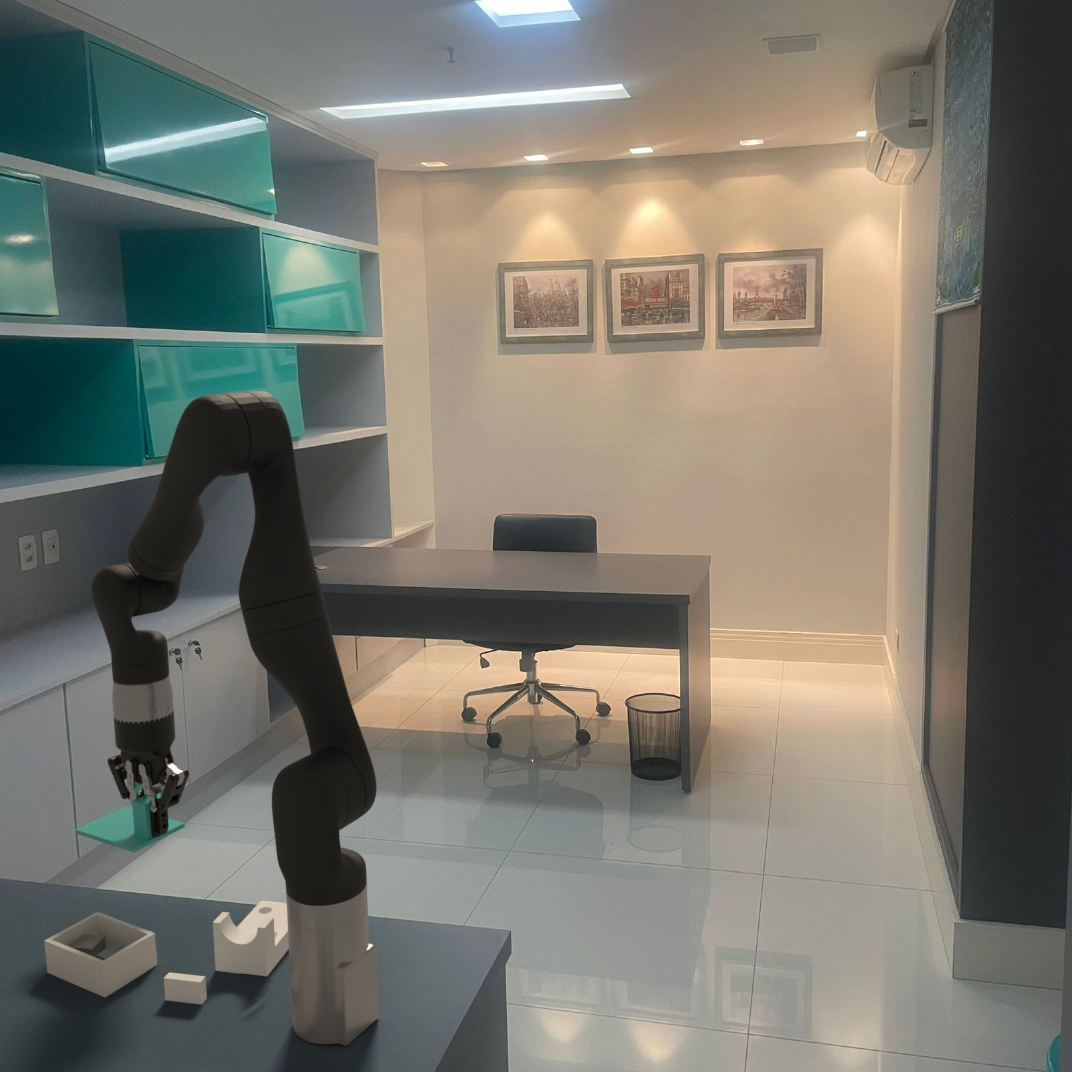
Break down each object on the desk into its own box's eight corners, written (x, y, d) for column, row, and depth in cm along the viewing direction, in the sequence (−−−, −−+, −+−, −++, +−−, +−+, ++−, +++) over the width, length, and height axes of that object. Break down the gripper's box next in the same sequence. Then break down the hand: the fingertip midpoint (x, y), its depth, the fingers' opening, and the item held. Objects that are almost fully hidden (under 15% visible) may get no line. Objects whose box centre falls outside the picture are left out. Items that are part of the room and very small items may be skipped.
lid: (184, 827, 145) (182, 788, 144) (134, 852, 138) (131, 812, 137) (127, 810, 151) (124, 773, 150) (75, 833, 144) (72, 794, 143)
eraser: (170, 999, 130) (168, 972, 129) (207, 1003, 129) (205, 976, 128) (165, 1005, 128) (163, 978, 128) (202, 1009, 127) (200, 982, 127)
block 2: (133, 971, 134) (131, 949, 134) (113, 983, 132) (112, 961, 131) (117, 964, 136) (115, 943, 135) (97, 976, 133) (96, 954, 133)
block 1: (106, 957, 137) (105, 936, 137) (93, 970, 134) (91, 949, 134) (85, 955, 138) (83, 934, 137) (72, 968, 135) (70, 947, 134)
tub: (157, 968, 136) (154, 933, 135) (105, 1001, 129) (102, 964, 128) (100, 946, 141) (97, 911, 140) (47, 976, 134) (44, 940, 133)
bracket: (267, 983, 133) (264, 928, 132) (216, 976, 134) (212, 922, 133) (309, 929, 146) (307, 878, 144) (262, 923, 147) (259, 873, 146)
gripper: (202, 710, 139) (210, 832, 142) (131, 694, 146) (139, 811, 149) (157, 727, 133) (166, 855, 136) (84, 709, 139) (94, 832, 142)
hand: (152, 831), depth 142 cm, fingers closed on lid, 2 cm apart
